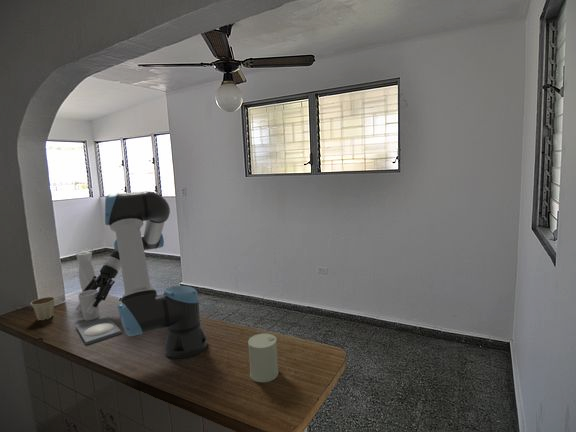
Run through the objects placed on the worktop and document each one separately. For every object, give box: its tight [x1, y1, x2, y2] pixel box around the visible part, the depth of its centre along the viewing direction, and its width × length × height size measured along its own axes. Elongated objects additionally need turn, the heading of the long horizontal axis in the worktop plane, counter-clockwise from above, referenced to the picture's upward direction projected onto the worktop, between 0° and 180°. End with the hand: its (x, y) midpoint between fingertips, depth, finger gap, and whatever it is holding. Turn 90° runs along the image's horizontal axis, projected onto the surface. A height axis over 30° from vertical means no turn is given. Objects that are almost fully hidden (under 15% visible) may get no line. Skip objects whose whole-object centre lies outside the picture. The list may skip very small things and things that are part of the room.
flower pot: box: [30, 296, 56, 321], centre depth 162 cm, size 9×9×9 cm
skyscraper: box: [75, 247, 96, 292], centre depth 181 cm, size 8×8×28 cm
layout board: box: [75, 315, 122, 346], centre depth 146 cm, size 20×13×1 cm, turn 41°
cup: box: [77, 289, 100, 321], centre depth 160 cm, size 8×8×12 cm
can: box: [247, 333, 280, 383], centre depth 110 cm, size 9×9×12 cm
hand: (83, 311), depth 157 cm, fingers closed on cup, 8 cm apart
